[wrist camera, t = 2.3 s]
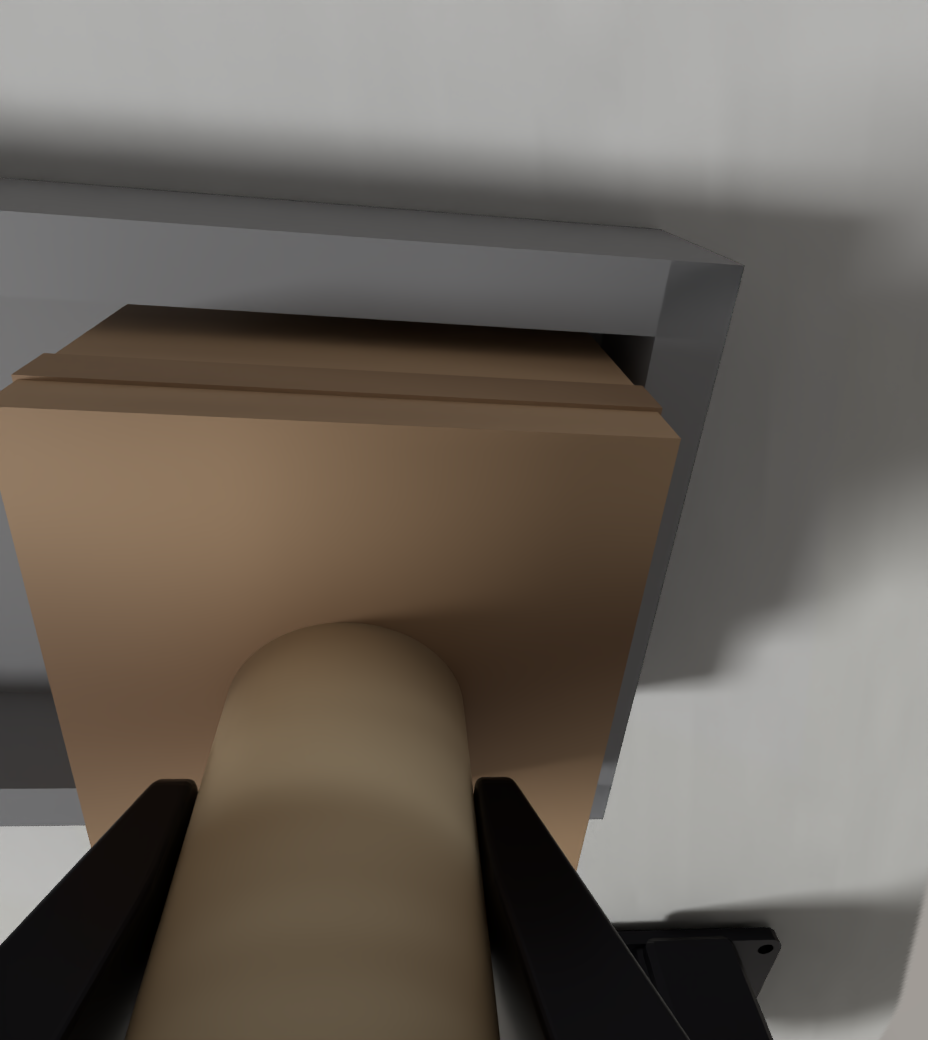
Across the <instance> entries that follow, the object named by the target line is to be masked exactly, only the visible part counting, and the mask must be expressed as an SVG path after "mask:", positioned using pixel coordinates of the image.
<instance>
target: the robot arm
mask: <svg viewBox="0 0 928 1040" xmlns="http://www.w3.org/2000/svg"><path fill="white" fill-rule="evenodd" d="M197 794H198V788H197V785H196V783H195V781H194V780H192V779H159V780H157V781H155V782H153V783H152V784H151V785H150V786H149V787H148V788H147V789H146V790H145V791H144V792H143V793H142V794H141V795H140V796H139V797H138V798H137V799H136V801H135V802H134V803H133V804H132V805H131V806H130V807H129V808H128V809H127V810H126V811H125V812H124V813H123V814H122V816H121V817H120V818H119V819H118V820H117V821H116V822H115V823H114V824H113V825H112V826H111V827H110V828H109V829H108V831H107V832H106V833H105V834H104V835H103V836H102V837H101V838H100V839H99V840H98V841H97V842H96V843H95V844H94V846H93V847H92V848H91V849H90V850H89V851H88V852H87V853H86V854H85V855H84V856H83V857H82V858H81V859H80V861H79V862H78V863H77V864H76V865H75V866H74V867H73V868H72V869H71V870H70V871H69V872H68V873H67V874H66V875H65V877H64V878H63V879H62V880H61V881H60V882H59V883H58V884H57V885H56V886H55V887H54V888H53V889H52V890H51V892H50V893H49V894H48V895H47V896H46V897H45V898H44V899H43V900H42V901H41V902H40V903H39V904H38V905H37V907H36V908H35V909H34V910H33V911H32V912H31V913H30V914H29V915H28V916H27V917H26V918H25V919H24V920H23V922H22V923H21V924H20V925H19V926H18V927H17V928H16V929H15V930H14V931H13V932H12V933H11V934H10V935H9V937H8V938H7V939H6V940H5V941H4V942H3V943H2V944H1V945H0V1040H124V1039H125V1036H126V1032H127V1029H128V1026H129V1022H130V1019H131V1016H132V1012H133V1009H134V1006H135V1002H136V999H137V996H138V992H139V989H140V986H141V982H142V979H143V975H144V972H145V969H146V965H147V962H148V959H149V955H150V952H151V949H152V945H153V942H154V939H155V935H156V932H157V929H158V925H159V922H160V918H161V915H162V912H163V908H164V905H165V902H166V898H167V895H168V892H169V888H170V885H171V882H172V878H173V875H174V872H175V868H176V865H177V861H178V858H179V855H180V851H181V848H182V845H183V841H184V838H185V835H186V831H187V828H188V825H189V821H190V818H191V815H192V811H193V808H194V805H195V801H196V798H197ZM474 803H475V812H476V821H477V831H478V840H479V849H480V858H481V867H482V876H483V885H484V895H485V904H486V913H487V922H488V931H489V940H490V950H491V959H492V968H493V977H494V986H495V995H496V1004H497V1014H498V1023H499V1032H500V1040H773V1038H772V1036H771V1033H770V1031H769V1028H768V1026H767V1023H766V1021H765V1018H764V1016H763V1013H762V1011H761V1009H760V1006H759V1004H758V1001H757V999H756V998H757V996H758V994H759V992H760V990H761V988H762V985H763V983H764V981H765V979H766V977H767V975H768V973H769V971H770V969H771V967H772V965H773V963H774V961H775V959H776V957H777V955H778V953H779V951H780V949H781V944H780V941H779V939H778V937H777V935H776V933H775V931H774V930H773V929H771V928H766V927H758V928H723V929H689V930H655V931H620V932H617V931H616V930H615V928H614V927H613V925H612V924H611V922H610V921H609V919H608V918H607V916H606V915H605V913H604V912H603V911H602V909H601V908H600V906H599V905H598V903H597V902H596V900H595V899H594V897H593V896H592V894H591V893H590V891H589V890H588V888H587V887H586V885H585V884H584V882H583V881H582V880H581V878H580V877H579V875H578V874H577V872H576V871H575V869H574V868H573V866H572V865H571V863H570V862H569V860H568V859H567V857H566V856H565V854H564V853H563V851H562V850H561V849H560V847H559V846H558V844H557V843H556V841H555V840H554V838H553V837H552V835H551V834H550V832H549V831H548V829H547V828H546V826H545V825H544V823H543V822H542V820H541V819H540V818H539V816H538V815H537V813H536V812H535V810H534V809H533V807H532V806H531V804H530V803H529V801H528V800H527V798H526V797H525V795H524V794H523V792H522V791H521V789H520V788H519V787H518V785H517V784H516V782H515V781H514V780H513V779H511V778H509V777H481V778H479V779H477V781H476V783H475V787H474Z"/></svg>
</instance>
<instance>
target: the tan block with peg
mask: <svg viewBox="0 0 928 1040" xmlns="http://www.w3.org/2000/svg"><path fill="white" fill-rule="evenodd" d="M11 377H12V381H13V383H11V384H10V385H8V386H7V387H5V388H4V389H3V390H1V391H0V492H1V495H2V499H3V503H4V507H5V511H6V515H7V519H8V523H9V527H10V531H11V535H12V539H13V543H14V546H15V550H16V554H17V558H18V562H19V566H20V570H21V574H22V578H23V582H24V586H25V590H26V593H27V597H28V601H29V605H30V609H31V613H32V617H33V621H34V625H35V629H36V633H37V637H38V641H39V644H40V648H41V652H42V656H43V660H44V664H45V668H46V672H47V676H48V680H49V684H50V688H51V692H52V695H53V699H54V703H55V707H56V711H57V715H58V719H59V723H60V727H61V731H62V735H63V739H64V742H65V746H66V750H67V754H68V758H69V762H70V766H71V770H72V774H73V778H74V782H75V786H76V790H77V793H78V797H79V801H80V805H81V809H82V813H83V817H84V821H85V825H86V829H87V833H88V837H89V841H90V844H91V848H92V847H93V846H94V844H95V843H96V842H97V841H98V840H99V839H100V838H101V837H102V836H103V835H104V834H105V833H106V832H107V831H108V829H109V828H110V827H111V826H112V825H113V824H114V823H115V822H116V821H117V820H118V819H119V818H120V817H121V816H122V814H123V813H124V812H125V811H126V810H127V809H128V808H129V807H130V806H131V805H132V804H133V803H134V802H135V801H136V799H137V798H138V797H139V796H140V795H141V794H142V793H143V792H144V791H145V790H146V789H147V788H148V787H149V786H150V785H151V784H152V783H153V782H155V781H157V780H159V779H192V780H194V781H195V783H196V785H197V788H198V794H197V798H196V801H195V805H194V808H193V811H192V815H191V818H190V821H189V825H188V828H187V831H186V835H185V838H184V841H183V845H182V848H181V851H180V855H179V858H178V861H177V865H176V868H175V872H174V875H173V878H172V882H171V885H170V888H169V892H168V895H167V898H166V902H165V905H164V908H163V912H162V915H161V918H160V922H159V925H158V929H157V932H156V935H155V939H154V942H153V945H152V949H151V952H150V955H149V959H148V962H147V965H146V969H145V972H144V975H143V979H142V982H141V986H140V989H139V992H138V996H137V999H136V1002H135V1006H134V1009H133V1012H132V1016H131V1019H130V1022H129V1026H128V1029H127V1032H126V1036H125V1039H124V1040H500V1032H499V1023H498V1014H497V1004H496V995H495V986H494V977H493V968H492V959H491V950H490V940H489V931H488V922H487V913H486V904H485V895H484V885H483V876H482V867H481V858H480V849H479V840H478V831H477V821H476V812H475V803H474V787H475V783H476V781H477V779H479V778H481V777H509V778H511V779H513V780H514V781H515V782H516V784H517V785H518V787H519V788H520V789H521V791H522V792H523V794H524V795H525V797H526V798H527V800H528V801H529V803H530V804H531V806H532V807H533V809H534V810H535V812H536V813H537V815H538V816H539V818H540V819H541V820H542V822H543V823H544V825H545V826H546V828H547V829H548V831H549V832H550V834H551V835H552V837H553V838H554V840H555V841H556V843H557V844H558V846H559V847H560V849H561V850H562V851H563V853H564V854H565V856H566V857H567V859H568V860H569V862H570V863H571V865H572V866H573V868H574V869H575V871H576V870H577V866H578V862H579V858H580V854H581V850H582V845H583V841H584V837H585V833H586V829H587V825H588V821H589V817H590V812H591V808H592V804H593V800H594V796H595V792H596V788H597V784H598V779H599V775H600V771H601V767H602V763H603V759H604V755H605V750H606V746H607V742H608V738H609V734H610V730H611V726H612V722H613V717H614V713H615V709H616V705H617V701H618V697H619V693H620V688H621V684H622V680H623V676H624V672H625V668H626V664H627V660H628V655H629V651H630V647H631V643H632V639H633V635H634V631H635V627H636V622H637V618H638V614H639V610H640V606H641V602H642V598H643V593H644V589H645V585H646V581H647V577H648V573H649V569H650V565H651V560H652V556H653V552H654V548H655V544H656V540H657V536H658V531H659V527H660V523H661V519H662V515H663V511H664V507H665V503H666V498H667V494H668V490H669V486H670V482H671V478H672V474H673V470H674V465H675V461H676V457H677V453H678V449H679V445H680V441H681V438H680V437H679V436H678V435H677V433H676V432H675V431H674V430H673V429H672V428H671V427H670V425H669V424H668V423H667V422H666V421H665V420H664V419H663V417H662V416H661V413H662V409H663V408H662V407H661V406H660V404H659V403H658V402H657V401H656V400H655V399H654V398H653V397H652V396H651V395H650V393H649V392H648V391H647V390H646V389H645V388H644V387H643V386H642V385H634V384H633V383H632V382H631V381H630V380H629V379H628V378H627V376H626V375H625V374H624V373H623V372H622V371H621V370H620V368H619V367H618V366H617V365H616V364H615V363H614V362H613V360H612V359H611V358H610V357H609V356H608V355H607V354H606V352H605V351H604V350H603V349H602V348H601V347H600V346H599V344H598V343H597V342H596V341H595V340H594V339H593V338H592V336H591V335H590V334H589V333H588V332H573V331H557V330H540V329H524V328H508V327H492V326H476V325H460V324H444V323H427V322H411V321H395V320H379V319H363V318H347V317H331V316H314V315H298V314H282V313H266V312H250V311H234V310H218V309H201V308H185V307H169V306H153V305H137V304H127V305H125V306H124V307H122V308H121V309H119V310H118V311H116V312H115V313H113V314H112V315H110V316H109V317H108V318H106V319H105V320H103V321H102V322H100V323H99V324H97V325H96V326H94V327H93V328H92V329H90V330H89V331H87V332H86V333H84V334H83V335H81V336H80V337H78V338H77V339H75V340H74V341H73V342H71V343H70V344H68V345H67V346H65V347H64V348H62V349H61V350H59V351H58V352H57V353H55V354H53V353H43V354H41V355H40V356H38V357H37V358H35V359H34V360H32V361H31V362H29V363H28V364H26V365H25V366H23V367H22V368H20V369H19V370H17V371H16V372H14V373H13V374H11Z"/></svg>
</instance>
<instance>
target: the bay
mask: <svg viewBox="0 0 928 1040" xmlns="http://www.w3.org/2000/svg"><path fill="white" fill-rule="evenodd" d="M743 270H744V265H742V264H740V263H737V262H735V261H733V260H730V259H728V258H726V257H723V256H721V255H719V254H716V253H714V252H712V251H709V250H707V249H705V248H703V247H700V246H698V245H696V244H693V243H691V242H689V241H686V240H684V239H682V238H679V237H677V236H675V235H672V234H670V233H668V232H665V231H663V230H660V229H647V228H634V227H621V226H609V225H596V224H583V223H570V222H558V221H545V220H532V219H519V218H507V217H494V216H481V215H468V214H456V213H443V212H430V211H417V210H405V209H392V208H379V207H366V206H354V205H341V204H328V203H315V202H303V201H290V200H277V199H264V198H252V197H239V196H226V195H213V194H201V193H188V192H175V191H162V190H150V189H137V188H124V187H111V186H99V185H86V184H73V183H60V182H48V181H35V180H22V179H9V178H0V391H1V390H3V389H4V388H5V387H7V386H8V385H10V384H11V383H13V381H12V377H11V374H13V373H14V372H16V371H17V370H19V369H20V368H22V367H23V366H25V365H26V364H28V363H29V362H31V361H32V360H34V359H35V358H37V357H38V356H40V355H41V354H43V353H53V354H55V353H57V352H58V351H59V350H61V349H62V348H64V347H65V346H67V345H68V344H70V343H71V342H73V341H74V340H75V339H77V338H78V337H80V336H81V335H83V334H84V333H86V332H87V331H89V330H90V329H92V328H93V327H94V326H96V325H97V324H99V323H100V322H102V321H103V320H105V319H106V318H108V317H109V316H110V315H112V314H113V313H115V312H116V311H118V310H119V309H121V308H122V307H124V306H125V305H127V304H137V305H153V306H169V307H185V308H201V309H218V310H234V311H250V312H266V313H282V314H298V315H314V316H331V317H347V318H363V319H379V320H395V321H411V322H427V323H444V324H460V325H476V326H492V327H508V328H524V329H540V330H557V331H573V332H588V333H589V334H590V335H591V336H592V338H593V339H594V340H595V341H596V342H597V343H598V344H599V346H600V347H601V348H602V349H603V350H604V351H605V352H606V354H607V355H608V356H609V357H610V358H611V359H612V360H613V362H614V363H615V364H616V365H617V366H618V367H619V368H620V370H621V371H622V372H623V373H624V374H625V375H626V376H627V378H628V379H629V380H630V381H631V382H632V383H633V384H634V385H642V386H643V387H644V388H645V389H646V390H647V391H648V392H649V393H650V395H651V396H652V397H653V398H654V399H655V400H656V401H657V402H658V403H659V404H660V406H661V407H662V408H663V409H662V413H661V416H662V417H663V419H664V420H665V421H666V422H667V423H668V424H669V425H670V427H671V428H672V429H673V430H674V431H675V432H676V433H677V435H678V436H679V437H680V438H681V441H680V445H679V449H678V453H677V457H676V461H675V465H674V470H673V474H672V478H671V482H670V486H669V490H668V494H667V498H666V503H665V507H664V511H663V515H662V519H661V523H660V527H659V531H658V536H657V540H656V544H655V548H654V552H653V556H652V560H651V565H650V569H649V573H648V577H647V581H646V585H645V589H644V593H643V598H642V602H641V606H640V610H639V614H638V618H637V622H636V627H635V631H634V635H633V639H632V643H631V647H630V651H629V655H628V660H627V664H626V668H625V672H624V676H623V680H622V684H621V688H620V693H619V697H618V701H617V705H616V709H615V713H614V717H613V722H612V726H611V730H610V734H609V738H608V742H607V746H606V750H605V755H604V759H603V763H602V767H601V771H600V775H599V779H598V784H597V788H596V792H595V796H594V800H593V804H592V808H591V812H590V817H589V819H603V817H604V813H605V809H606V805H607V801H608V797H609V793H610V790H611V786H612V782H613V778H614V774H615V770H616V766H617V762H618V758H619V754H620V751H621V747H622V743H623V739H624V735H625V731H626V727H627V723H628V719H629V715H630V711H631V708H632V704H633V700H634V696H635V692H636V688H637V684H638V680H639V676H640V672H641V668H642V665H643V661H644V657H645V653H646V649H647V645H648V641H649V637H650V633H651V629H652V625H653V622H654V618H655V614H656V610H657V606H658V602H659V598H660V594H661V590H662V586H663V582H664V579H665V575H666V571H667V567H668V563H669V559H670V555H671V551H672V547H673V543H674V539H675V536H676V532H677V528H678V524H679V520H680V516H681V512H682V508H683V504H684V500H685V496H686V493H687V489H688V485H689V481H690V477H691V473H692V469H693V465H694V461H695V457H696V453H697V450H698V446H699V442H700V438H701V434H702V430H703V426H704V422H705V418H706V414H707V411H708V407H709V403H710V399H711V395H712V391H713V387H714V383H715V379H716V375H717V371H718V368H719V364H720V360H721V356H722V352H723V348H724V344H725V340H726V336H727V332H728V328H729V325H730V321H731V317H732V313H733V309H734V305H735V301H736V297H737V293H738V289H739V285H740V282H741V278H742V274H743ZM69 825H85V821H84V817H83V813H82V809H81V805H80V801H79V797H78V793H77V790H76V786H75V782H74V778H73V774H72V770H71V766H70V762H69V758H68V754H67V750H66V746H65V742H64V739H63V735H62V731H61V727H60V723H59V719H58V715H57V711H56V707H55V703H54V699H53V695H52V692H51V688H50V684H49V680H48V676H47V672H46V668H45V664H44V660H43V656H42V652H41V648H40V644H39V641H38V637H37V633H36V629H35V625H34V621H33V617H32V613H31V609H30V605H29V601H28V597H27V593H26V590H25V586H24V582H23V578H22V574H21V570H20V566H19V562H18V558H17V554H16V550H15V546H14V543H13V539H12V535H11V531H10V527H9V523H8V519H7V515H6V511H5V507H4V503H3V499H2V495H1V492H0V826H69Z"/></svg>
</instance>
